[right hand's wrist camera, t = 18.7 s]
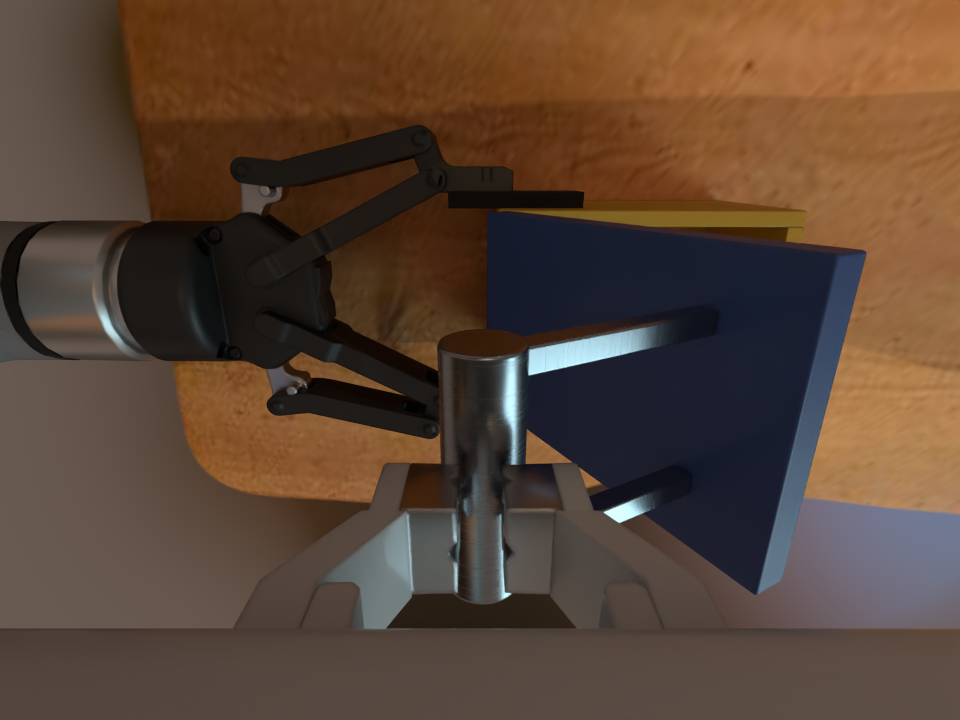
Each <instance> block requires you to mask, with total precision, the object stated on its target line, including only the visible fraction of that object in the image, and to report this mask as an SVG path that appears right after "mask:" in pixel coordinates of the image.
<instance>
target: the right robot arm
mask: <svg viewBox="0 0 960 720" xmlns="http://www.w3.org/2000/svg"><path fill="white" fill-rule="evenodd" d="M501 484H502V502H501V539H502V550H503V574H504V588H505V593H526V594H551V595H550V596H551V598H552V599H553V600H554V601H555V602H556V604H557V605H558V606H559V607H560V608H561V610H562V611H563V612H564V613H565V614H566V616H567V617H568V618H569V619H570V621H571V622H572V623H573V624H574V625H575V627H576V628H577V629H385V628H386V627H387V626H388V625H389V624H390V622H391V621H392V620H393V619H394V618H395V616H396V615H397V614H398V613H399V612H400V610H401V609H402V608H403V607H404V606H405V604H406V603H407V602H408V601H409V600H410V598H411V597H412V594H435V593H457V592H458V576H459V550H460V536H461V502H460V464H426V463H411V464H410V463H386V464H385V465H384V466H383V469H382V472H381V475H380V478H379V481H378V484H377V487H376V490H375V493H374V496H373V499H372V502H371V505H370V508H369V511H360V512H359V513H357V514H356V515H354V516H353V517H351V518H350V519H348V520H347V521H345V522H344V523H343V524H341V525H340V526H338V527H337V528H335V529H334V530H332V531H331V532H329V533H328V534H326V535H325V536H323V537H322V538H320V539H319V540H318V541H316V542H315V543H313V544H312V545H310V546H309V547H307V548H306V549H304V550H303V551H301V552H300V553H298V554H297V555H296V556H294V557H293V558H291V559H290V560H288V561H287V562H285V563H284V564H282V565H281V566H279V567H278V568H276V569H275V570H273V571H272V572H270V573H269V574H268V575H266V576H265V577H263V578H262V579H260V580H259V582H258V584H257V586H256V587H255V589H254V591H253V593H252V595H251V596H250V598H249V600H248V602H247V604H246V605H245V607H244V609H243V611H242V613H241V615H240V616H239V618H238V620H237V622H236V624H235V626H234V627H233V629H0V720H960V629H730V627H729V625H728V623H727V621H726V620H725V618H724V616H723V614H722V612H721V610H720V609H719V607H718V605H717V603H716V601H715V600H714V598H713V596H712V594H711V592H710V591H709V589H708V587H707V585H706V583H705V581H704V580H702V579H701V578H699V577H698V576H696V575H695V574H693V573H692V572H691V571H689V570H688V569H686V568H685V567H683V566H682V565H680V564H679V563H677V562H676V561H674V560H673V559H671V558H670V557H668V556H667V555H666V554H664V553H663V552H661V551H660V550H658V549H657V548H655V547H654V546H652V545H651V544H649V543H648V542H646V541H645V540H643V539H642V538H640V537H639V536H637V535H636V534H635V533H633V532H632V531H630V530H629V529H627V528H626V527H624V526H623V525H621V524H620V523H618V522H617V521H615V520H614V519H613V518H611V517H610V516H608V515H607V514H605V513H604V512H602V511H594V510H593V507H592V504H591V501H590V498H589V495H588V493H587V490H586V487H585V484H584V481H583V478H582V475H581V472H580V469H579V467H578V464H576V463H554V464H513V465H502V481H501Z"/></svg>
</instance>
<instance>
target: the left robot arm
mask: <svg viewBox="0 0 960 720" xmlns="http://www.w3.org/2000/svg"><path fill="white" fill-rule="evenodd" d="M413 158H414V159H415V162H416V164H417V167H418V170H419V172H420V173H418V174H416V175H414V176H412V177H411V178H409V179H407V180H405V181H403V182H401V183H400V184H398V185H396V186H394V187H392V188H391V189H389V190H387V191H385V192H383V193H382V194H380V195H378V196H376V197H374V198H373V199H371V200H369V201H367V202H365V203H364V204H362V205H360V206H358V207H356V208H355V209H353V210H351V211H349V212H347V213H345V214H344V215H342V216H340V217H338V218H336V219H335V220H333V221H331V222H329V223H327V224H326V225H324V226H322V227H320V228H318V229H316V230H314V231H312V232H310V233H308V234H306V235H304V236H303V237H302V236H300V235H299V234H297V233H296V232H295V231H293V230H292V229H290V228H289V227H287V226H286V225H284V224H283V223H282V222H280V221H279V220H277V219H276V218H274V217H273V216H271V215H270V214H269V209H270V206H271V205H272V204H273V203H275V202H280V201H284V200H285V199H286V198H287V197H288V195H289V187H292V186H305V185H310V184H315V183H319V182H322V181H326V180H330V179H334V178H338V177H342V176H346V175H350V174H354V173H358V172H362V171H366V170H369V169H373V168H377V167H381V166H385V165H389V164H393V163H397V162H401V161H405V160H409V159H413ZM230 171H231V174H232V176H233V178H234V179H235V180H237V181H238V182H240V183H241V196H242V213H240V214H238V215H236V216H235V217H233V218H232V219H230V220H228V221H152V222H149V223H144V222H141V221H50V222H9V221H0V362H5V361H11V360H120V361H152V360H155V359H161V360H165V361H247V362H250V363H253V364H255V365H257V366H259V367H261V368H264V369H266V371H267V375H268V378H269V382H270V386H271V389H272V393H273V396H272V397H271V398H270V399H269V400H268V402H267V408H268V410H269V411H270V412H271V413H272V414H274V415H278V416H282V415H292V414H302V413H312V414H316V415H321V416H326V417H330V418H335V419H339V420H344V421H348V422H353V423H358V424H362V425H367V426H371V427H376V428H381V429H385V430H390V431H394V432H399V433H404V434H408V435H413V436H417V437H422V438H427V439H433V438H436V437H437V436H438V435H439V433H440V417H439V384H438V371H437V370H435V369H433V368H430V367H428V366H426V365H424V364H422V363H420V362H418V361H416V360H414V359H412V358H409V357H407V356H405V355H403V354H401V353H399V352H397V351H395V350H393V349H391V348H389V347H386V346H384V345H382V344H380V343H378V342H376V341H374V340H372V339H370V338H368V337H365V336H363V335H361V334H359V333H357V332H355V331H354V330H352V328H351V327H350V326H349V325H347V324H345V323H343V322H341V321H339V320H337V319H335V318H334V317H335V316H336V309H335V302H334V299H333V296H332V294H331V291H330V285H331V279H332V269H331V261H327V259H326V257H325V255H326V254H328V253H329V252H331V251H333V250H335V249H337V248H339V247H340V246H342V245H344V244H346V243H348V242H349V241H351V240H353V239H355V238H357V237H359V236H360V235H362V234H364V233H366V232H368V231H370V230H372V229H373V228H375V227H377V226H379V225H381V224H383V223H384V222H386V221H388V220H390V219H392V218H394V217H396V216H397V215H399V214H401V213H403V212H405V211H407V210H408V209H410V208H412V207H414V206H416V205H418V204H420V203H421V202H423V201H425V200H427V199H429V198H431V197H432V196H434V195H436V194H438V193H448V205H449V208H583V202H584V192H580V191H513V171H512V170H510V169H508V168H505V167H481V166H451V165H449V164H448V163H446V162H445V160H444V159H443V157H442V155H441V152H440V149H439V146H438V144H437V139H436V137H435V135H434V134H433V133H432V132H431V131H430V130H429V129H427V128H426V127H424V126H422V125H415V126H411V127H407V128H403V129H400V130H396V131H392V132H388V133H384V134H380V135H377V136H373V137H369V138H365V139H361V140H358V141H354V142H350V143H346V144H342V145H338V146H335V147H331V148H327V149H323V150H319V151H315V152H312V153H308V154H304V155H300V156H296V157H292V158H289V159H285V160H281V161H278V160H271V159H262V158H249V157H237V158H235V159H234V160H233V161H232V163H231V166H230ZM300 352H303V353H305V354H307V355H310V356H312V357H314V358H316V359H318V360H320V361H323V362H327V363H328V362H333V363H337V364H339V365H341V366H343V367H345V368H347V369H350V370H352V371H354V372H356V373H358V374H360V375H362V376H365V377H367V378H369V379H371V380H373V381H375V382H378V383H380V384H382V385H384V386H386V387H388V388H390V389H393V390H395V391H397V392H399V393H401V394H403V395H400V394H395V393H391V392H386V391H382V390H377V389H373V388H368V387H364V386H359V385H355V384H350V383H346V382H341V381H337V380H332V379H326V378H311V377H310V376H311V375H310V373H309V372H307V371H300V370H296V369H294V368H293V367H291V365H290V364H289V361H290V360H291V359H292V358H294V357H295V356H296V355H298V354H299V353H300ZM404 395H406V396H404Z"/></svg>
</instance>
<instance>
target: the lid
mask: <svg viewBox="0 0 960 720" xmlns="http://www.w3.org/2000/svg"><path fill="white" fill-rule="evenodd" d="M865 258H866V251H864V250H858V249H849V248H840V247H831V246H822V245H813V244H804V243H795V242H786V241H777V240H768V239H758V238H749V237H740V236H731V235H722V234H713V233H704V232H695V231H686V230H677V229H668V228H659V227H650V226H641V225H632V224H623V223H614V222H605V221H596V220H587V219H578V218H569V217H560V216H551V215H542V214H533V213H524V212H515V211H494V212H488V222H487V329H473V330H464V331H459V332H455V333H452V334H449V335H446V336H445V337H443V338H441V340H440V341H439V343H438V346H437V351H438V384H439V417H440V450H441V464H460V502H461V536H460V550H459V576H458V592H457V593H454V594H455V595H456V596H457V597H459V598H460V599H462V600H464V601H467V602H470V603H475V604H492V603H496V602H499V601H502V600H504V599H506V598H507V597H509V596H510V595H511V594H513V593H505V588H504V574H503V550H502V539H501V502H502V484H501V481H502V465H513V464H525V463H526V436H527V429H528V430H529V431H530V432H532V433H533V434H535V435H536V436H537V437H539V438H540V439H541V440H543V441H544V442H546V443H547V444H548V445H550V446H551V447H552V448H554V449H555V450H557V451H558V452H559V453H561V454H562V455H563V456H565V457H566V458H567V459H569V460H570V461H572V462H573V463H576V464H578V467H580V468H581V469H583V470H584V471H585V472H587V473H588V474H589V475H591V476H592V477H594V478H595V479H596V480H598V481H599V482H600V483H602V484H603V485H605V486H606V487H607V488H609V489H608V490H605V491H602V492H600V493H597V494H594V495H592V496H589V498H590V501H591V504H592V507H593V510H594V511H602V512H604V513H605V514H607V515H608V516H610V517H611V518H613V519H614V520H615V521H617V522H618V523H622V522H624V521H627V520H629V519H631V518H634V517H636V516H638V515H641V514H644V515H646V516H647V517H648V518H650V519H651V520H653V521H654V522H655V523H657V524H658V525H659V526H661V527H662V528H664V529H665V530H666V531H668V532H669V533H670V534H672V535H673V536H675V537H676V538H677V539H679V540H680V541H682V542H683V543H684V544H686V545H687V546H688V547H690V548H691V549H692V550H694V551H695V552H696V553H698V554H699V555H701V556H702V557H703V558H705V559H706V560H708V561H709V562H710V563H712V564H713V565H714V566H716V567H717V568H718V569H720V570H721V571H723V572H724V573H725V574H727V575H728V576H729V577H731V578H732V579H734V580H735V581H736V582H738V583H739V584H740V585H742V586H743V587H745V588H746V589H747V590H749V591H750V592H751V593H753V594H755V595H758V594H760V593H761V592H763V591H764V590H766V589H768V588H769V587H771V586H773V585H774V584H776V583H777V582H779V581H781V580H782V576H783V573H784V569H785V565H786V561H787V557H788V553H789V549H790V546H791V542H792V538H793V534H794V530H795V526H796V523H797V519H798V515H799V511H800V507H801V503H802V500H803V496H804V492H805V488H806V484H807V480H808V477H809V473H810V469H811V465H812V461H813V457H814V453H815V450H816V446H817V442H818V438H819V434H820V430H821V427H822V423H823V419H824V415H825V411H826V407H827V404H828V400H829V396H830V392H831V388H832V384H833V381H834V377H835V373H836V369H837V365H838V361H839V357H840V354H841V350H842V346H843V342H844V338H845V334H846V331H847V327H848V323H849V319H850V315H851V311H852V308H853V304H854V300H855V296H856V292H857V288H858V284H859V281H860V277H861V273H862V269H863V265H864V261H865Z"/></svg>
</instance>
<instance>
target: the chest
mask: <svg viewBox="0 0 960 720" xmlns="http://www.w3.org/2000/svg"><path fill="white" fill-rule="evenodd" d="M496 211H515V212H524V213H533V214H542V215H551V216H560V217H569V218H578V219H587V220H596V221H605V222H614V223H623V224H632V225H641V226H650V227H659V228H668V229H677V230H686V231H695V232H704V233H713V234H722V235H731V236H740V237H749V238H758V239H768V240H777V241H786V242H795V243H801V240H802V235H803V231H804V228H803V226H804V224H805V219H806V215H807V211H804V210H796V209H787V208H778V207H770V206H761V205H752V204H744V203H735V202H727V201H718V200H584V202H583V208H496Z"/></svg>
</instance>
